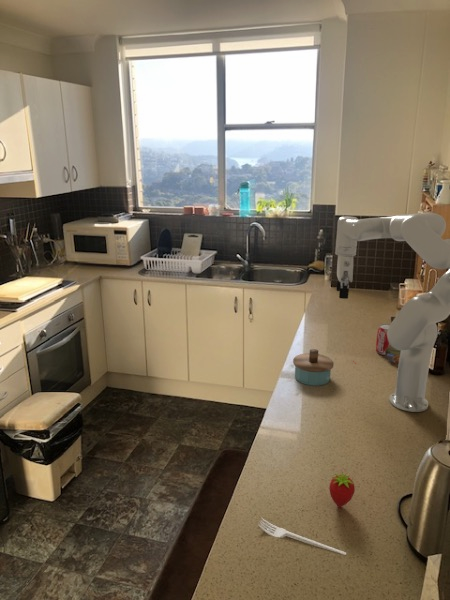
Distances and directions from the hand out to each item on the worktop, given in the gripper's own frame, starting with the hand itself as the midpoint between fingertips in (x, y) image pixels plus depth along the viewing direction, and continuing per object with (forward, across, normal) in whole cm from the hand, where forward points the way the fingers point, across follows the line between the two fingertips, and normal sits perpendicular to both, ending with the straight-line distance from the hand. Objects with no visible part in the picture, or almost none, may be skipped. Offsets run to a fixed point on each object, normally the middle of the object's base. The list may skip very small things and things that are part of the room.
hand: (341, 294), depth 183 cm
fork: (+31, -92, +17) cm, 98 cm away
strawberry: (+31, -80, +7) cm, 86 cm away
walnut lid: (+25, -11, +10) cm, 29 cm away
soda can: (+31, +17, -22) cm, 41 cm away
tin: (+31, +7, -28) cm, 42 cm away
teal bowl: (+30, -11, +10) cm, 34 cm away
